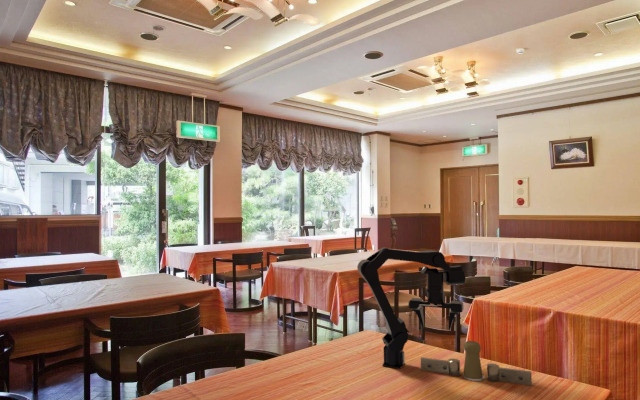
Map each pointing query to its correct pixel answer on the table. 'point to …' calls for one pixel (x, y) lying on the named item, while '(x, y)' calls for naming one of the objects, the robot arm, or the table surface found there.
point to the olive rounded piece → (472, 360)
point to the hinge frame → (493, 375)
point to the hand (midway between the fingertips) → (436, 328)
